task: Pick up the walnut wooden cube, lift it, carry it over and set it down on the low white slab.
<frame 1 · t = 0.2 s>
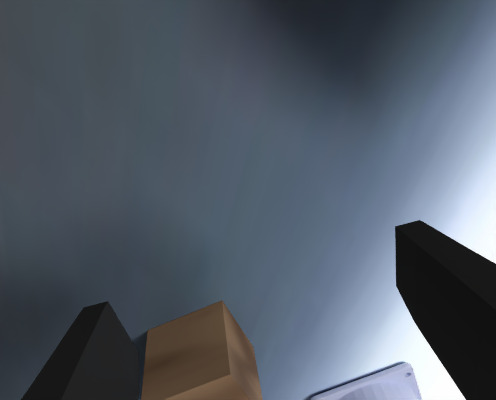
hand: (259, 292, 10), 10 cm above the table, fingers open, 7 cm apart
walnut cube: (202, 338, 25), on the table
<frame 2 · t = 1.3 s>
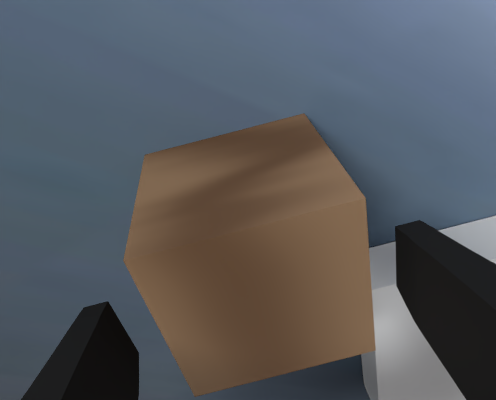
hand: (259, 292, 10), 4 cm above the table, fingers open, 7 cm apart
walnut cube: (242, 199, 14), on the table
white slab: (456, 302, 18), on the table
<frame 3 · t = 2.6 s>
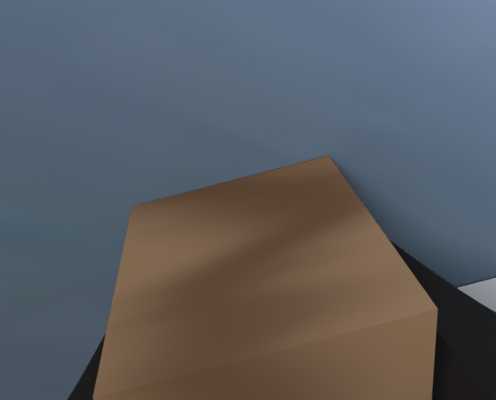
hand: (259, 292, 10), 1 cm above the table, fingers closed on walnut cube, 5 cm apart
walnut cube: (251, 256, 11), on the table, touching gripper
white slab: (494, 356, 15), on the table
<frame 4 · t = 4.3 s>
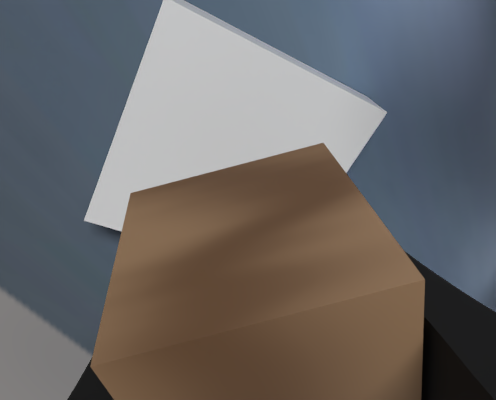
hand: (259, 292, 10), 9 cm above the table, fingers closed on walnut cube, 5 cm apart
walnut cube: (248, 243, 11), point 7 cm above the table, touching gripper
white slab: (227, 146, 17), on the table
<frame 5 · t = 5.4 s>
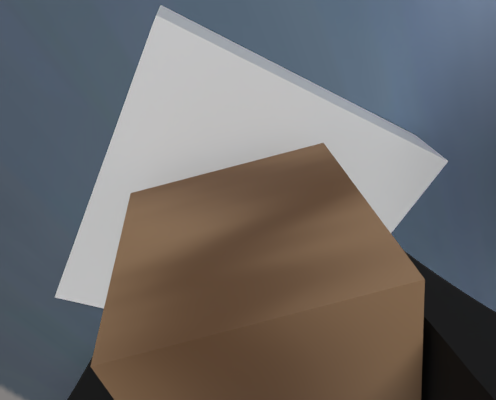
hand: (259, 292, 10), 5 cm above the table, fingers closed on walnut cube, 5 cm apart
walnut cube: (248, 243, 11), point 3 cm above the table, touching gripper
white slab: (238, 197, 14), on the table
when the fingers open (5 cm above the table, at t = 5.9 s): walnut cube stays where it is, resting on white slab.
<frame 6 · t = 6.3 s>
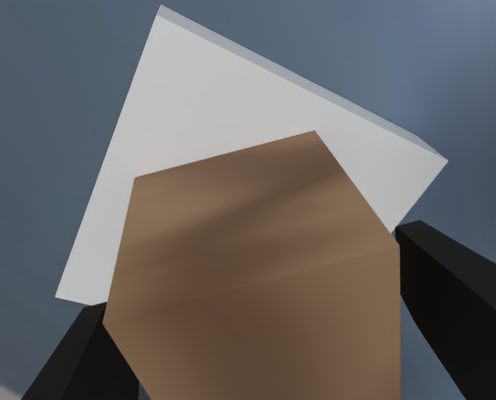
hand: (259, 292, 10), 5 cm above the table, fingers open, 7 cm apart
walnut cube: (245, 226, 12), point 2 cm above the table, touching white slab
white slab: (238, 196, 14), on the table
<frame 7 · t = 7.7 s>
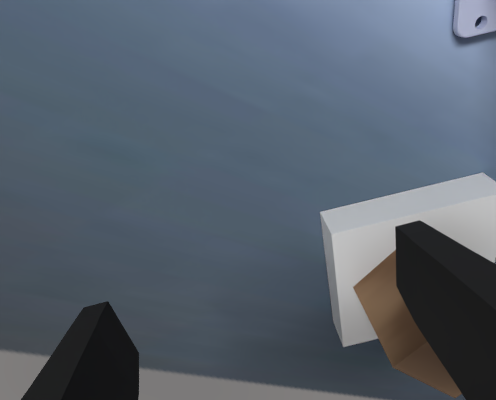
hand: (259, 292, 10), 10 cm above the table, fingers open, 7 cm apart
walnut cube: (414, 276, 22), point 2 cm above the table, touching white slab
white slab: (400, 254, 24), on the table
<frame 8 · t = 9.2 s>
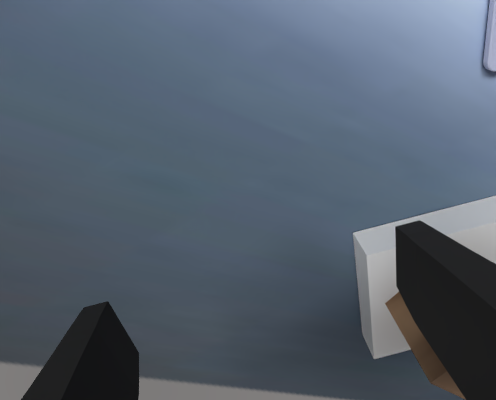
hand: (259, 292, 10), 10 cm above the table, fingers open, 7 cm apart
walnut cube: (444, 292, 23), point 2 cm above the table, touching white slab
white slab: (428, 270, 25), on the table
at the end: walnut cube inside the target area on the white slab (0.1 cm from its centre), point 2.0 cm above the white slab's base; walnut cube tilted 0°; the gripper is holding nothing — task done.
